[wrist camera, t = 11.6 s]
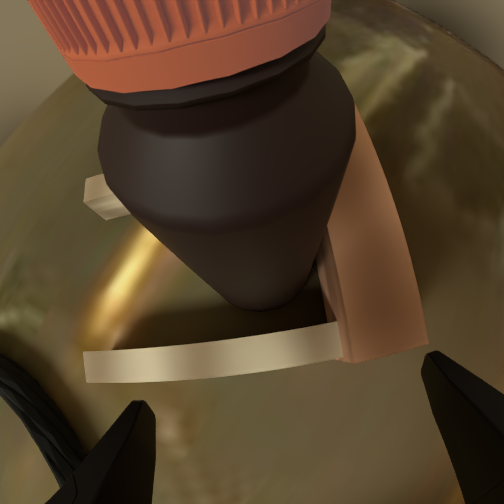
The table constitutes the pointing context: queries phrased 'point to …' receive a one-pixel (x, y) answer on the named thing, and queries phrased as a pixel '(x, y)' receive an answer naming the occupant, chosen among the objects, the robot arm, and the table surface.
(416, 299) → the track
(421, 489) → the table surface
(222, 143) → the vinegar
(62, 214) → the table surface
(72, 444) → the cable lock
